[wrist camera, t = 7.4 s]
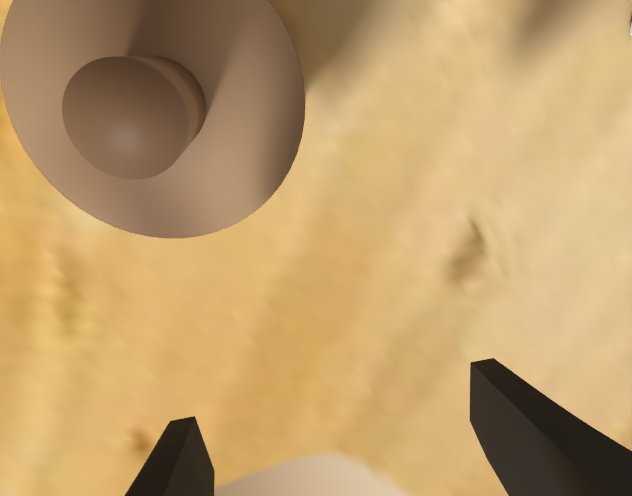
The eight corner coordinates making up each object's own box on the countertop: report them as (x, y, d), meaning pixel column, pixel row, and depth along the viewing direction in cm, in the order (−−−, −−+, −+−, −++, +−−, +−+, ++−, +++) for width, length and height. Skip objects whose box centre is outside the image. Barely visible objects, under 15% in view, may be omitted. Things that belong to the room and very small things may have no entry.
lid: (296, -63, 12) (313, -124, 8) (306, 219, 16) (322, 277, 11) (-25, -62, 11) (-189, -128, 7) (62, 235, 15) (-14, 303, 11)
